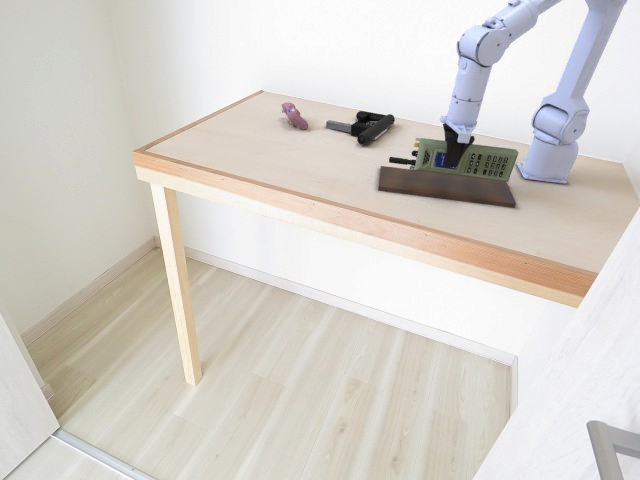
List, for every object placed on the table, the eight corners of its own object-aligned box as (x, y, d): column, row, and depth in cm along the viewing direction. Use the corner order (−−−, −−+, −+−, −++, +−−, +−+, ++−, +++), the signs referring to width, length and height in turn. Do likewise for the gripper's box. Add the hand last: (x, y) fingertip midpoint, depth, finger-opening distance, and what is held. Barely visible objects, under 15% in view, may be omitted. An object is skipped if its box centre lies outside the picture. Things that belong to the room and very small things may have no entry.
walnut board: (505, 184, 93) (506, 181, 93) (514, 207, 85) (516, 203, 85) (380, 169, 96) (380, 165, 96) (378, 190, 88) (378, 186, 87)
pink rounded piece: (287, 123, 121) (276, 101, 116) (300, 115, 120) (290, 93, 116) (295, 136, 113) (284, 114, 109) (310, 128, 113) (299, 105, 108)
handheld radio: (508, 184, 86) (387, 168, 89) (505, 177, 89) (388, 162, 92) (519, 154, 82) (392, 138, 85) (516, 147, 85) (393, 132, 88)
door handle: (315, 125, 110) (371, 136, 103) (349, 105, 124) (400, 114, 117) (315, 137, 112) (370, 149, 105) (348, 116, 126) (399, 126, 119)
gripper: (443, 84, 85) (429, 146, 93) (449, 106, 74) (432, 175, 82) (478, 88, 85) (460, 150, 93) (490, 111, 73) (469, 180, 81)
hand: (450, 162), depth 87 cm, fingers closed on handheld radio, 3 cm apart
